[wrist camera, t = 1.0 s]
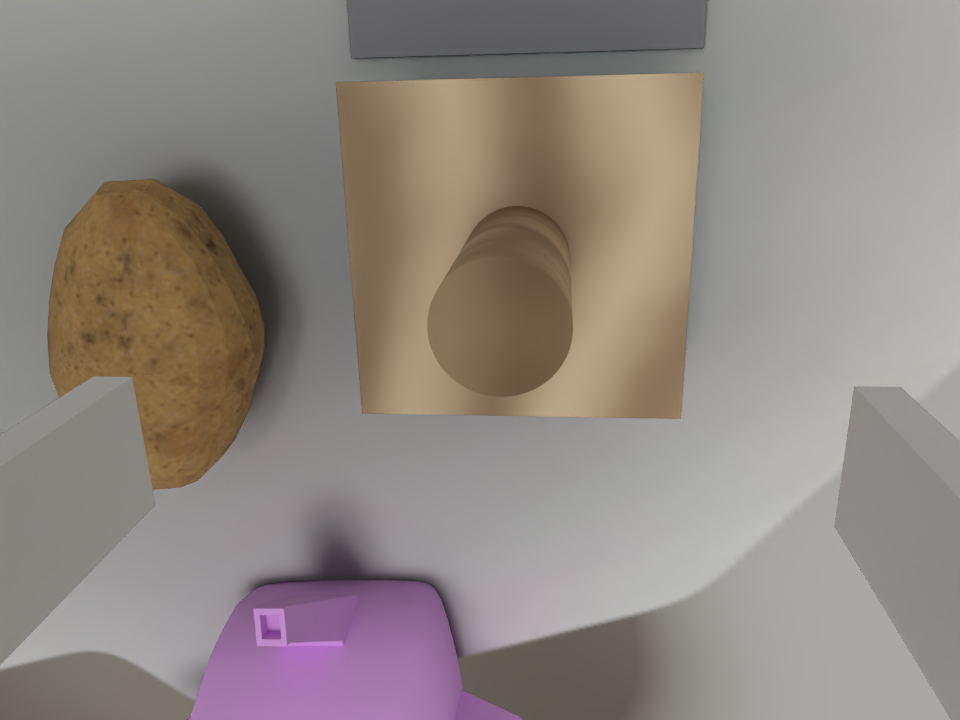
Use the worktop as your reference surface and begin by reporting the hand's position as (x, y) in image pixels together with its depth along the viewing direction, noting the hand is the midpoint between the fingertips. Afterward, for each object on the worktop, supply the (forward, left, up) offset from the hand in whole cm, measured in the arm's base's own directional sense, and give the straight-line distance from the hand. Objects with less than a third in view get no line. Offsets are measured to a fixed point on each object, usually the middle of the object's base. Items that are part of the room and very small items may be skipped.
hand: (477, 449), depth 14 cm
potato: (-17, -4, -24) cm, 29 cm away
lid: (0, 0, -18) cm, 18 cm away
